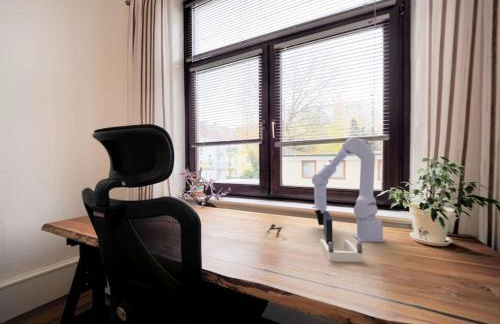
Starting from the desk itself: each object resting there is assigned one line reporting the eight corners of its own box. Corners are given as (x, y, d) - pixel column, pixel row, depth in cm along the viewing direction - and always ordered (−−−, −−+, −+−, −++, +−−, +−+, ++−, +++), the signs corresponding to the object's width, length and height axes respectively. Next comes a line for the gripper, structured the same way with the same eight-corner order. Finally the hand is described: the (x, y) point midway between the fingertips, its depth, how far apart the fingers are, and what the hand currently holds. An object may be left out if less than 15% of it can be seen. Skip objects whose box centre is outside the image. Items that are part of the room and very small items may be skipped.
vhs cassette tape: (332, 244, 93) (332, 220, 93) (325, 244, 93) (324, 219, 94) (329, 232, 110) (329, 211, 110) (323, 231, 111) (323, 211, 111)
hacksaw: (271, 226, 124) (271, 223, 124) (290, 227, 121) (290, 224, 121) (261, 240, 101) (261, 236, 101) (285, 241, 98) (285, 238, 98)
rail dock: (348, 246, 90) (348, 230, 90) (363, 262, 75) (362, 243, 75) (320, 245, 91) (319, 230, 92) (329, 261, 76) (328, 243, 76)
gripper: (310, 196, 125) (310, 221, 124) (314, 199, 110) (315, 228, 110) (323, 196, 124) (324, 221, 124) (329, 200, 110) (330, 228, 109)
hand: (320, 224), depth 117 cm, fingers closed
